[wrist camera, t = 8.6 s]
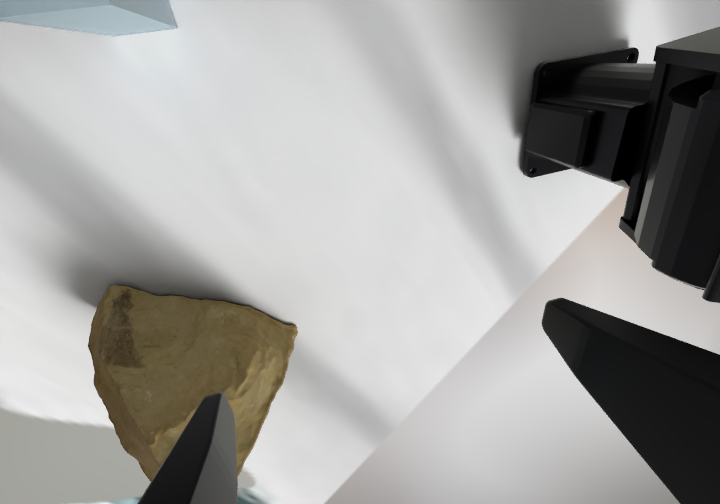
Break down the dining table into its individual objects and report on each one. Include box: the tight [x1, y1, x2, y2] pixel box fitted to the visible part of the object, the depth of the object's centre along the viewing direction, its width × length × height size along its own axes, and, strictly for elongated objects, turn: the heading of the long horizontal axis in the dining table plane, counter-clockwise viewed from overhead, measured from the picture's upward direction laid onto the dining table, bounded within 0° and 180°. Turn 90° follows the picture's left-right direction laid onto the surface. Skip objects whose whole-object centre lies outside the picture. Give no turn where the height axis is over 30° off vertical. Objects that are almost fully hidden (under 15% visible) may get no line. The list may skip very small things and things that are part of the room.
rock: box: [88, 285, 298, 481], centre depth 19 cm, size 11×9×10 cm
